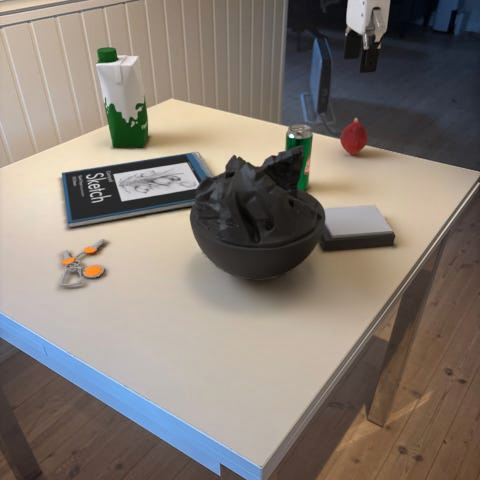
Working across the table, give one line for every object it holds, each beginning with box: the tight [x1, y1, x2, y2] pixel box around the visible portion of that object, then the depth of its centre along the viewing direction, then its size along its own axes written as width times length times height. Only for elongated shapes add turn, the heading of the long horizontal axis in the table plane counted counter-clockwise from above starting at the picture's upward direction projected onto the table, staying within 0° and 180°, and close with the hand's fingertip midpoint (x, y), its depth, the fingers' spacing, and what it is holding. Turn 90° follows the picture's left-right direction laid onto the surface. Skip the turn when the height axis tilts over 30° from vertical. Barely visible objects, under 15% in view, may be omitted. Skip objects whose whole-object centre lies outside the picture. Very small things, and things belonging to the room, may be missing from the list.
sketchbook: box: [61, 151, 216, 229], centre depth 98 cm, size 22×30×2 cm
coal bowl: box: [189, 145, 326, 281], centre depth 72 cm, size 20×20×19 cm
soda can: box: [284, 123, 314, 191], centre depth 95 cm, size 5×5×12 cm
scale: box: [318, 204, 397, 252], centre depth 85 cm, size 12×10×3 cm
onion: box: [340, 117, 368, 156], centre depth 108 cm, size 6×6×8 cm
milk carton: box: [95, 46, 149, 149], centre depth 110 cm, size 9×9×20 cm
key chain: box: [59, 238, 106, 287], centre depth 79 cm, size 13×7×1 cm, turn 7°
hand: (358, 65), depth 96 cm, fingers open, 9 cm apart
